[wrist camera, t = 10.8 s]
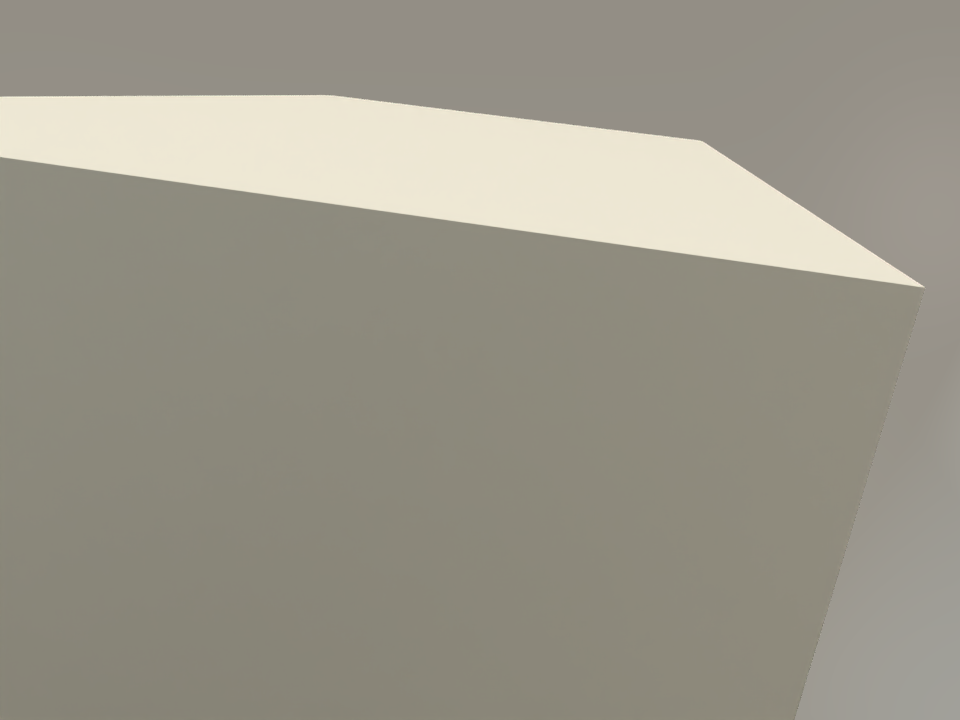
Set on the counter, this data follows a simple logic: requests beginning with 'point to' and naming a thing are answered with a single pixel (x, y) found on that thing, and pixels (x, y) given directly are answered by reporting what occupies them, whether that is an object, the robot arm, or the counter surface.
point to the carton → (418, 416)
